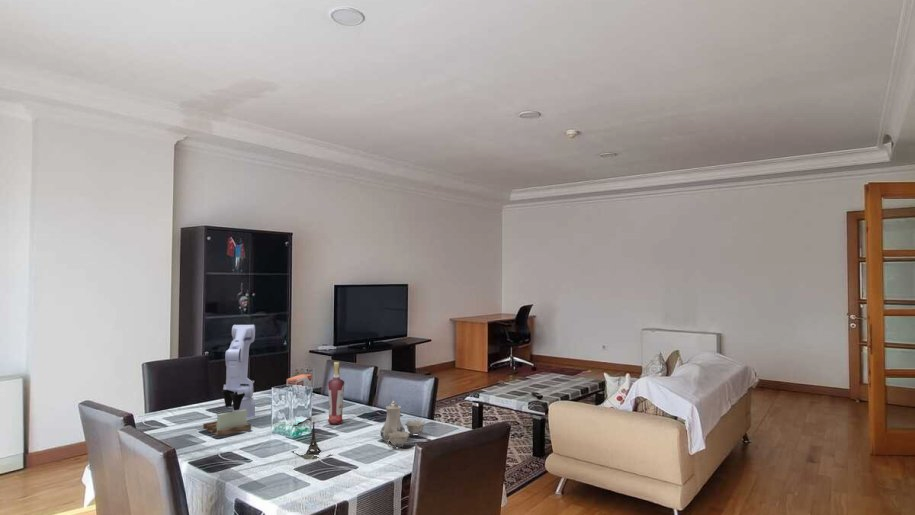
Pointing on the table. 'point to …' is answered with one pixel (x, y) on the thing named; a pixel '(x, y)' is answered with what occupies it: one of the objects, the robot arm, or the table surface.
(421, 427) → the chinaware
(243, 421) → the pale green slab
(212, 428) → the rack
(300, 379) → the cracker box
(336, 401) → the liquor
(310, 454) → the eiffel tower figurine
